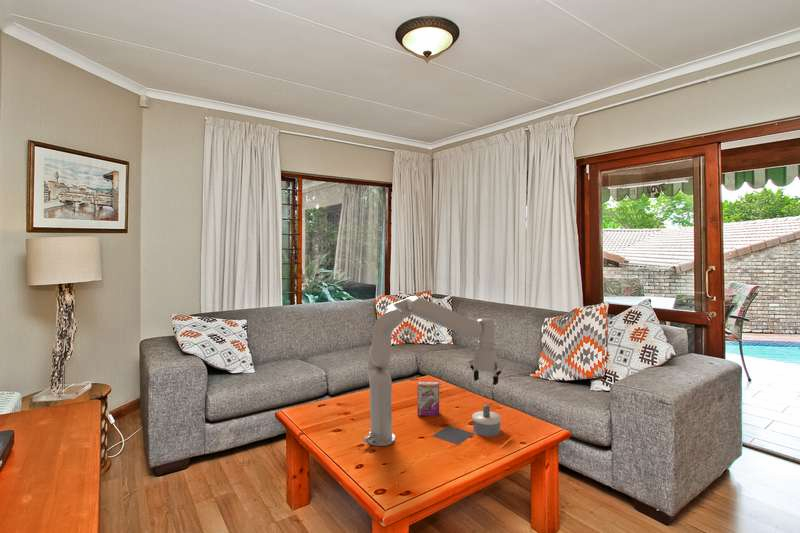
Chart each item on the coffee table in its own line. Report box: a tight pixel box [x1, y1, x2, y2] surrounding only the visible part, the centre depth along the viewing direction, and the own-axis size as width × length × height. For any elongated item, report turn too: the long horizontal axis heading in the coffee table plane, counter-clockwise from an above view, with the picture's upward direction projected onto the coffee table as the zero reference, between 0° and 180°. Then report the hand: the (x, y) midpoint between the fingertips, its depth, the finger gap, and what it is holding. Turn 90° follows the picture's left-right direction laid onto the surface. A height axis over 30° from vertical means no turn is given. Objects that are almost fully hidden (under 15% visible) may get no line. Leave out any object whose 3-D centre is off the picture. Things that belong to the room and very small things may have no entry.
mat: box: [431, 425, 476, 446], centre depth 188 cm, size 14×14×1 cm
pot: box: [472, 420, 501, 438], centre depth 191 cm, size 12×12×6 cm
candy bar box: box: [417, 381, 440, 417], centre depth 212 cm, size 11×5×16 cm, turn 84°
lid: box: [471, 404, 502, 425], centre depth 191 cm, size 13×13×6 cm
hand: (485, 382), depth 190 cm, fingers open, 9 cm apart
